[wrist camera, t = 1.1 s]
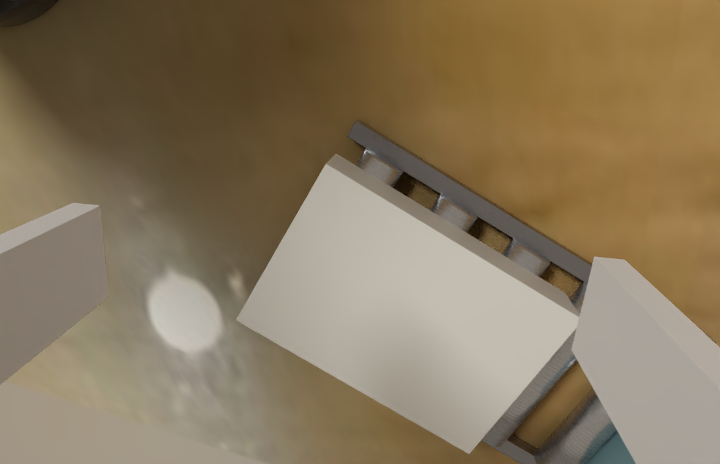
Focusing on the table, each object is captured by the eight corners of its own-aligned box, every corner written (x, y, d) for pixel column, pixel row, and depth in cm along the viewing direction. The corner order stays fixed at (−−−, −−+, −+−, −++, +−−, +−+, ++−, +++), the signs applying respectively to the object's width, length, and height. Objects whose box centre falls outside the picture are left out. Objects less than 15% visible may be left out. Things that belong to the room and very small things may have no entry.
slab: (254, 294, 37) (235, 320, 33) (335, 153, 33) (325, 163, 30) (463, 416, 38) (469, 454, 35) (564, 292, 35) (583, 319, 31)
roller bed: (566, 481, 43) (577, 510, 40) (253, 299, 41) (241, 317, 38) (707, 334, 38) (731, 356, 35) (357, 119, 36) (353, 123, 33)
